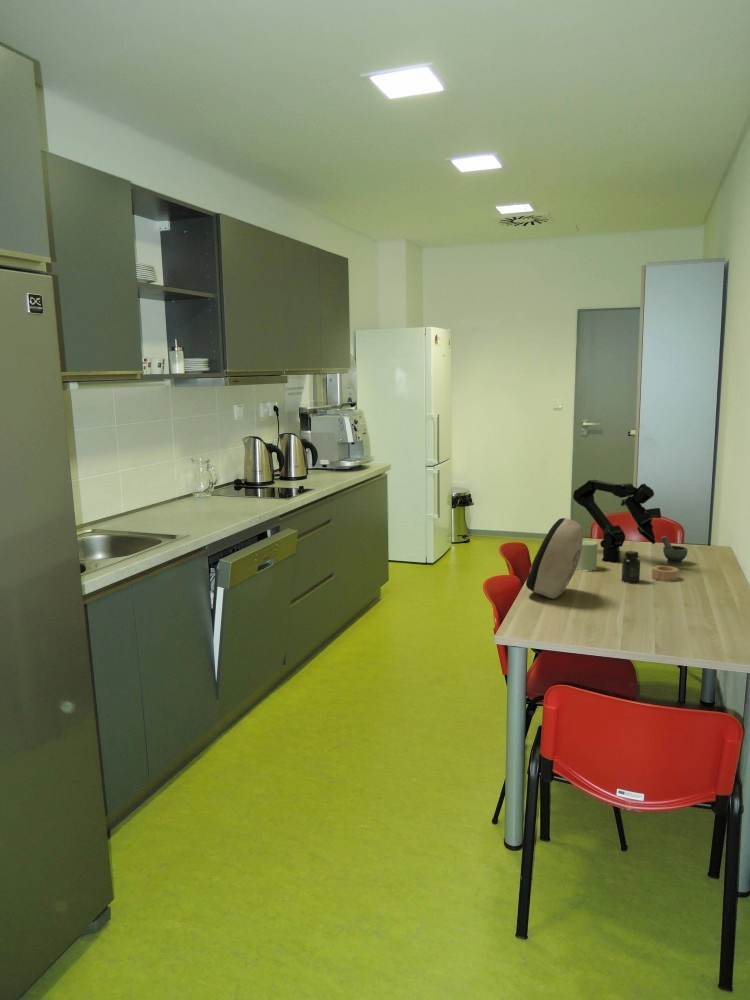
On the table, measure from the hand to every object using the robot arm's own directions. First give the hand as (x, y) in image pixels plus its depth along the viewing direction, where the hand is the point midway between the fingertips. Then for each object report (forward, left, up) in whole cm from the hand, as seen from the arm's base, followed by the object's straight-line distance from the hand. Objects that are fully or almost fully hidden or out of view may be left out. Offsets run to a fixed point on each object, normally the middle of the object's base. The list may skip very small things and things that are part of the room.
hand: (654, 540), depth 303 cm
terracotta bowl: (+7, -8, -13) cm, 17 cm away
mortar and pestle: (+3, +19, -13) cm, 23 cm away
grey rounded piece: (-20, -55, -13) cm, 60 cm away
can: (-25, -11, -13) cm, 30 cm away
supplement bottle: (-3, -20, -13) cm, 24 cm away
